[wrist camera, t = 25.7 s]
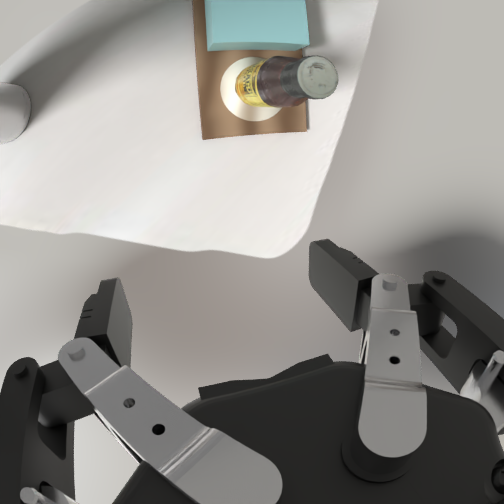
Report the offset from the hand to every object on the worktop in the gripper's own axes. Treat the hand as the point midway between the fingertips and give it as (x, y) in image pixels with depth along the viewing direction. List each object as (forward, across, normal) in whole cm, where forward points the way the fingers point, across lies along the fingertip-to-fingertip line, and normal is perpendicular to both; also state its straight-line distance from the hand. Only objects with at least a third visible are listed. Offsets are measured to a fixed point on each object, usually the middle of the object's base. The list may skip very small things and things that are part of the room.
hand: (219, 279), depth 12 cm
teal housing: (+32, -12, -23) cm, 41 cm away
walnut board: (+34, -12, -16) cm, 40 cm away
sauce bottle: (+33, -12, -10) cm, 36 cm away
